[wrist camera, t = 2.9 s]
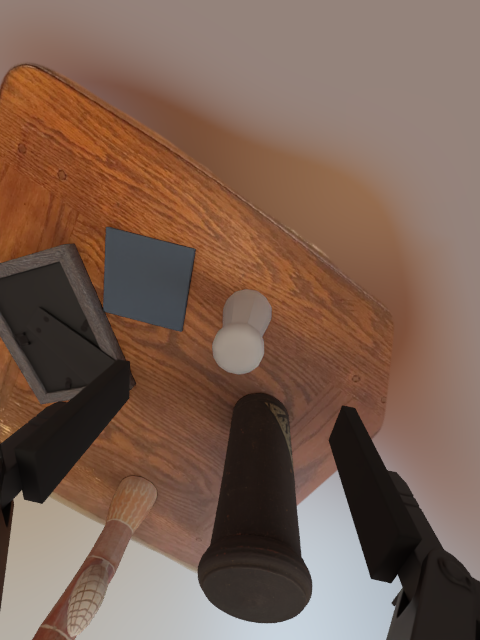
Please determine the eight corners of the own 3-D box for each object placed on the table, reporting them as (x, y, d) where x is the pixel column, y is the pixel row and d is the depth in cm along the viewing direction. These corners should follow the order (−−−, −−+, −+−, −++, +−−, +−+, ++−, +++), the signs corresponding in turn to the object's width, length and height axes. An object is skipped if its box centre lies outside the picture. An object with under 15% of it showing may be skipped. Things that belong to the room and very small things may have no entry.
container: (275, 445, 38) (282, 648, 20) (222, 424, 38) (179, 609, 19) (301, 405, 35) (338, 600, 17) (244, 381, 35) (217, 553, 16)
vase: (146, 470, 43) (-76, 908, 15) (167, 498, 45) (4, 932, 17) (101, 483, 46) (-161, 880, 18) (123, 509, 48) (-83, 904, 20)
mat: (195, 249, 29) (194, 249, 29) (182, 330, 33) (181, 331, 33) (108, 226, 30) (105, 226, 29) (105, 310, 34) (102, 311, 33)
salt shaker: (251, 275, 30) (239, 304, 18) (280, 309, 31) (289, 359, 19) (217, 305, 32) (185, 351, 19) (246, 336, 33) (234, 398, 20)
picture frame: (136, 383, 37) (74, 243, 31) (129, 391, 35) (61, 244, 29) (49, 398, 40) (-24, 272, 34) (38, 406, 38) (-41, 274, 32)
